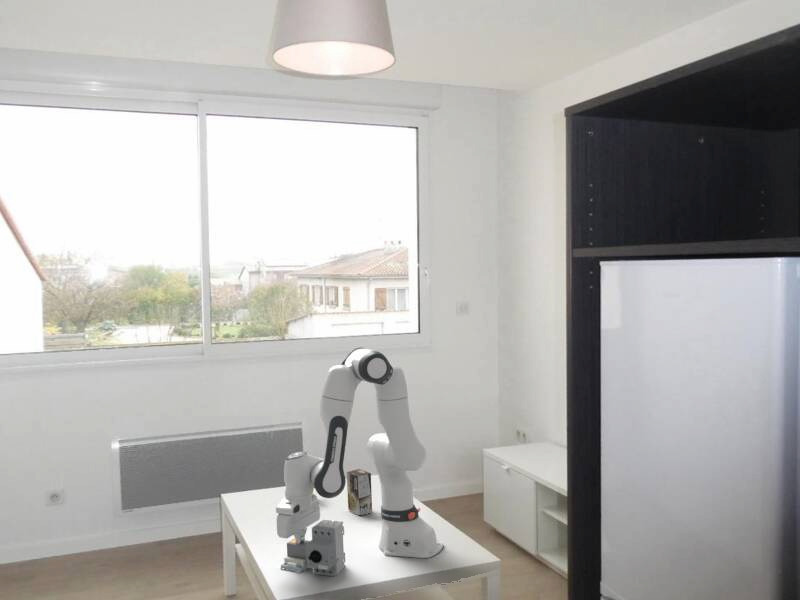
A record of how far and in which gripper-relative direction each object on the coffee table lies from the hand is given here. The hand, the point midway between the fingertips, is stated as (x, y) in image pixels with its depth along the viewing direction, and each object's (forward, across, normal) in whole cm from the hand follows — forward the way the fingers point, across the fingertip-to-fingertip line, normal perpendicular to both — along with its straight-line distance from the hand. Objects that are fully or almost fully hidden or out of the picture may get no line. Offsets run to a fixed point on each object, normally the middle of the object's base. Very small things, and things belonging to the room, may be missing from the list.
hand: (300, 542), depth 245 cm
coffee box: (+7, -52, -8) cm, 53 cm away
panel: (+7, -1, 0) cm, 7 cm away
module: (+6, 0, 0) cm, 6 cm away
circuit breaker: (+8, +4, +12) cm, 15 cm away
